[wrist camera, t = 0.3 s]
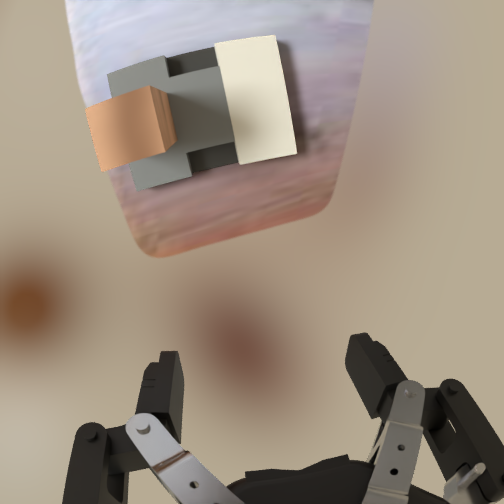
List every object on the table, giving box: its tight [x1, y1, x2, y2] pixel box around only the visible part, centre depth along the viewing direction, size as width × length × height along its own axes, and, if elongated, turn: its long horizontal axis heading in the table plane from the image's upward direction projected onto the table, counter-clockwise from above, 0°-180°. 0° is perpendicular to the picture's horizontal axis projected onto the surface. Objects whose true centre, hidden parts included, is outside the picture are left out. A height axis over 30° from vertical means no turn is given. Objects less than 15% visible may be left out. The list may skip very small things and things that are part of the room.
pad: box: [214, 35, 297, 165], centre depth 27 cm, size 6×13×2 cm, turn 11°
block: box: [85, 85, 178, 172], centre depth 22 cm, size 5×5×9 cm
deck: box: [107, 47, 238, 191], centre depth 27 cm, size 11×13×2 cm
